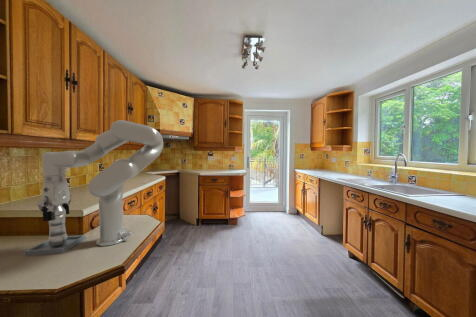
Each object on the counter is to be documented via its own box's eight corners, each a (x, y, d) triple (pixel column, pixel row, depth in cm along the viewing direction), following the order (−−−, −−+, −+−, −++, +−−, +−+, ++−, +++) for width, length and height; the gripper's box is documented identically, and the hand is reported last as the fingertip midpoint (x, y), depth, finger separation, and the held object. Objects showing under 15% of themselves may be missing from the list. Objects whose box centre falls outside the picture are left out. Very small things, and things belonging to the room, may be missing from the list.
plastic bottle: (56, 248, 87) (54, 202, 87) (44, 247, 89) (42, 202, 89) (71, 242, 94) (69, 199, 94) (59, 241, 95) (57, 199, 95)
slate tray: (85, 239, 99) (85, 235, 99) (62, 253, 84) (62, 248, 84) (53, 241, 98) (53, 237, 98) (24, 255, 83) (24, 251, 83)
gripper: (47, 181, 83) (49, 223, 83) (77, 177, 100) (79, 211, 100) (27, 182, 82) (29, 224, 82) (61, 177, 99) (63, 212, 99)
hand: (57, 217), depth 91 cm, fingers open, 9 cm apart
